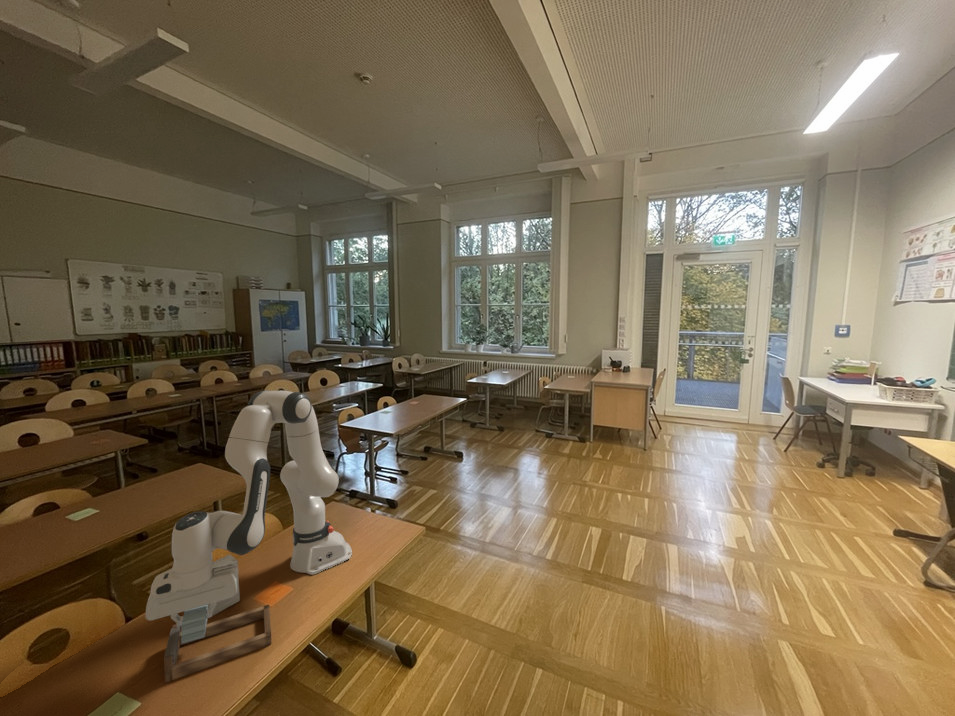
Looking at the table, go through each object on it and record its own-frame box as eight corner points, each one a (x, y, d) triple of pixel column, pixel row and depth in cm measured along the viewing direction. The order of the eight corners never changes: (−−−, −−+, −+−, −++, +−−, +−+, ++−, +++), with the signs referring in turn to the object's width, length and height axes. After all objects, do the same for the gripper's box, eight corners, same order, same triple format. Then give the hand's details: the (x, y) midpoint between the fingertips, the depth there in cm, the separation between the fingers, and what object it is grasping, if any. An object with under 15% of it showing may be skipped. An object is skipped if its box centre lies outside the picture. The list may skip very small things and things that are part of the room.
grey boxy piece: (207, 618, 110) (207, 599, 109) (204, 638, 103) (204, 617, 103) (185, 624, 107) (186, 604, 107) (181, 644, 101) (181, 623, 100)
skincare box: (232, 594, 129) (231, 552, 128) (240, 601, 126) (239, 559, 124) (203, 608, 122) (202, 565, 121) (211, 617, 119) (209, 572, 117)
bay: (269, 613, 121) (268, 595, 121) (271, 644, 110) (270, 624, 109) (173, 644, 109) (172, 625, 108) (164, 683, 97) (162, 661, 97)
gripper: (238, 556, 112) (239, 600, 113) (148, 578, 101) (150, 626, 103) (237, 568, 107) (238, 614, 108) (142, 592, 96) (144, 643, 97)
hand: (195, 620), depth 105 cm, fingers closed on grey boxy piece, 5 cm apart
